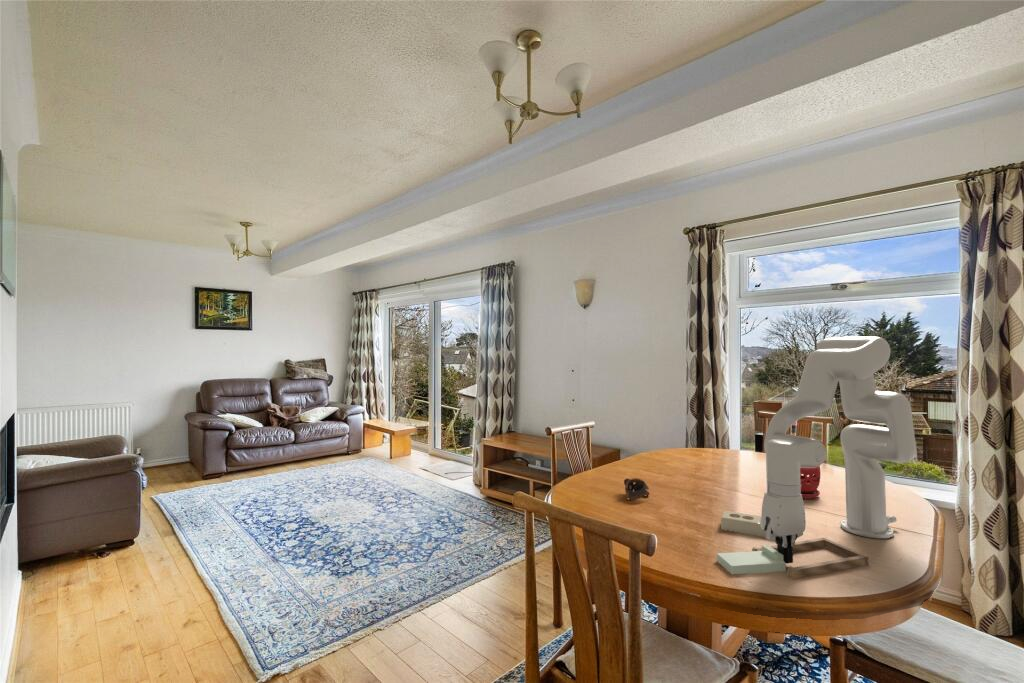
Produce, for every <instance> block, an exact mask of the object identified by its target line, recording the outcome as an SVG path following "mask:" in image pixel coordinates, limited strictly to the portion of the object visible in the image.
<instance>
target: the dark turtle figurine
mask: <svg viewBox="0 0 1024 683" xmlns="http://www.w3.org/2000/svg"><path fill="white" fill-rule="evenodd" d="M623 484H624V487H625V488H624V491H625V498H626V497H627V498H629V500H631V499H640V498H642V497H644V496H646V495H649V496H650V492H649V491H648V490H650V488H649V486H648V485H647V483H646V482H645V481H644V479H643V480H642V479H641V478H637V477H635V478H625V479H624V480H623Z"/></svg>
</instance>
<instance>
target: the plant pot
mask: <svg viewBox="0 0 1024 683" xmlns="http://www.w3.org/2000/svg"><path fill="white" fill-rule="evenodd" d="M800 481H801V485H802V486H801V495H802V498H803V499H807V500H809V499H815V498H818V497H819V496H820V494H821V491H820V490H819V486H820V482H821V465H820V466H817V467H813V468H807V467H801V468H800Z"/></svg>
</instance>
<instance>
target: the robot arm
mask: <svg viewBox="0 0 1024 683" xmlns="http://www.w3.org/2000/svg"><path fill="white" fill-rule="evenodd" d="M890 357H891V347H890V344H889V342H888V341H887V340H886V339H885V338H883V337H879V336H840V337H839V336H838V337H837V336H836V337H827V338H823V339H821V340H820V341H819V342H818V343H817V345H816V350H814V351H811V352H810V353H809V354H808V355H807V357H806V359H805V363H804V367H803V370H802V375H801V377H800V381H799V384H798V386H797V390H796V394H795V396H794V398H792V399H791V400H790V401H788V402H787V403H785V404H784V405H783V406H782V407H781V408H779V409H778V411H776V412H775V414H774V415H773V416H772V417H771V419H770V420H769V423H768V426H767V430H766V433H765V438H764V444H763V447H764V452H765V465H766V466H765V468H766V492H764V494H763V498H762V504H761V515H760V516H761V527H762V530H764V531H767V532H766V537H765V539H766V540H769V541H771V542H774V543H775V544H776V545H777V551H778V552H779V553H781V554H782V555H783V561H784V562H785V563H786V564H792V563H794V552H793V547H794V546H795V542H797V539H798V538H800V537H802V536H803V535H804V532H805V531H806V526H807V525H806V522H807V521H806V520H807V519H806V511H805V504H804V500H803V499H804V498H802V495H801V486H802V485H801V481H800V468H801V467H807V468H813V467H817V466H820V467H821V465H822V464H824V463H825V462H826V459H827V457H828V453H827V451H828V450H827V448H826V446H825V444H823V442H821V441H820V440H819V439H815V438H812V437H806V436H800V435H794V434H787V432H788V430H789V429H790V427H791V426H792V425H793V424H795V422H797V421H799V420H802V419H803V418H806V417H809V416H813V415H815V414H819V413H823V412H826V411H828V410H830V409H831V408H832V406H833V403H834V398H835V394H836V391H837V387H838V384H839V388H840V390H839V391H840V397H841V398H840V399H841V400H840V401H841V406H842V411H843V415H844V416H845V417H846V418H847V419H848V420H850V421H854V422H860V424H854V423H853V424H849V425H847V426H845V427H844V428H843V429H842V430H841V432H840V444H841V449H842V453H843V458H844V470H845V478H844V479H845V507H846V508H845V512H846V514H845V515H846V517H845V518H846V519H843V520H841V521H840V527H841V528H842V529H843V530H844V531H847V532H849V533H851V534H854V535H858V536H861V537H865V538H871V539H880V540H881V539H890V537H891V538H892V537H894V530H893V529H892V528H891V527H889V524H892V523H896V522H897V517H896V516H895V515H887V500H886V499H887V498H886V496H887V495H886V474H885V471H884V469H883V467H882V466H881V464H880V463H879V461H878V460H881V461H885V462H890V463H891V462H892V463H896V464H897V463H898V464H899V463H900V464H906V463H910V462H912V461H913V460H914V458H915V455H916V449H917V448H916V435H915V429H914V428H915V427H914V419H913V412H912V406H911V403H910V402H909V399H908V398H907V397H906V396H905V395H904V394H902V393H900V392H896V391H887V390H886V391H884V390H878V389H877V388H876V382H875V376H874V374H875V373H877V372H878V371H879V370H881V369H882V368H884V366H886V364H887V363H888V362H889V361H890V360H889V359H890ZM861 422H862V423H868V424H861ZM870 424H875V425H870ZM876 424H878V425H876ZM879 425H885V426H886V427H884V426H879ZM780 537H781V538H780Z"/></svg>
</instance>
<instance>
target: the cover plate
mask: <svg viewBox="0 0 1024 683" xmlns="http://www.w3.org/2000/svg"><path fill="white" fill-rule="evenodd" d="M770 546H771V545H768V544H767V545H766V544H764V545H761V548H762V551H752V550H751V551H736V552H735V551H733V552H721V553H720V552H718V553H716V562H717V563H718V564H720V565H721V566H722V567H723V568H724V569H725V570H726V571H728V572H729V574H731V575H743V574H744V575H746V574H760V573H778V572H779V573H780V572H786V571H787V568H786V566H787V565H786V564H787V563H785V562H784V561H783V555H782V554H781V553H779V552H778V551H776V550H774V549H773V548H771V547H770Z"/></svg>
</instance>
